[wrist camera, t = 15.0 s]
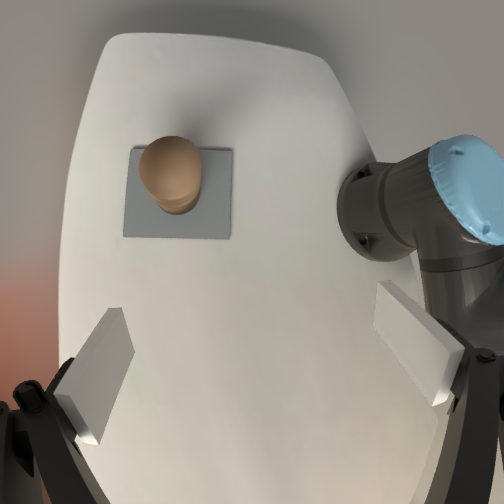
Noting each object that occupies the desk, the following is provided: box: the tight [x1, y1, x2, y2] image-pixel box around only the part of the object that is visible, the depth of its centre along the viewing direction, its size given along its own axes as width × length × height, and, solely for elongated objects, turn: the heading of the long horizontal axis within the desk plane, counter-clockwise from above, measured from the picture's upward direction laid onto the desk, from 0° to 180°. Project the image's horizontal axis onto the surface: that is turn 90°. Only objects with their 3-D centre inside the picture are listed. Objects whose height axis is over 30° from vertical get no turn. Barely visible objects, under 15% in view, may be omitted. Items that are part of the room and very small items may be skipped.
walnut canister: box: [139, 136, 202, 215], centre depth 33 cm, size 6×6×12 cm
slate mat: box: [123, 149, 232, 240], centre depth 39 cm, size 14×12×1 cm
